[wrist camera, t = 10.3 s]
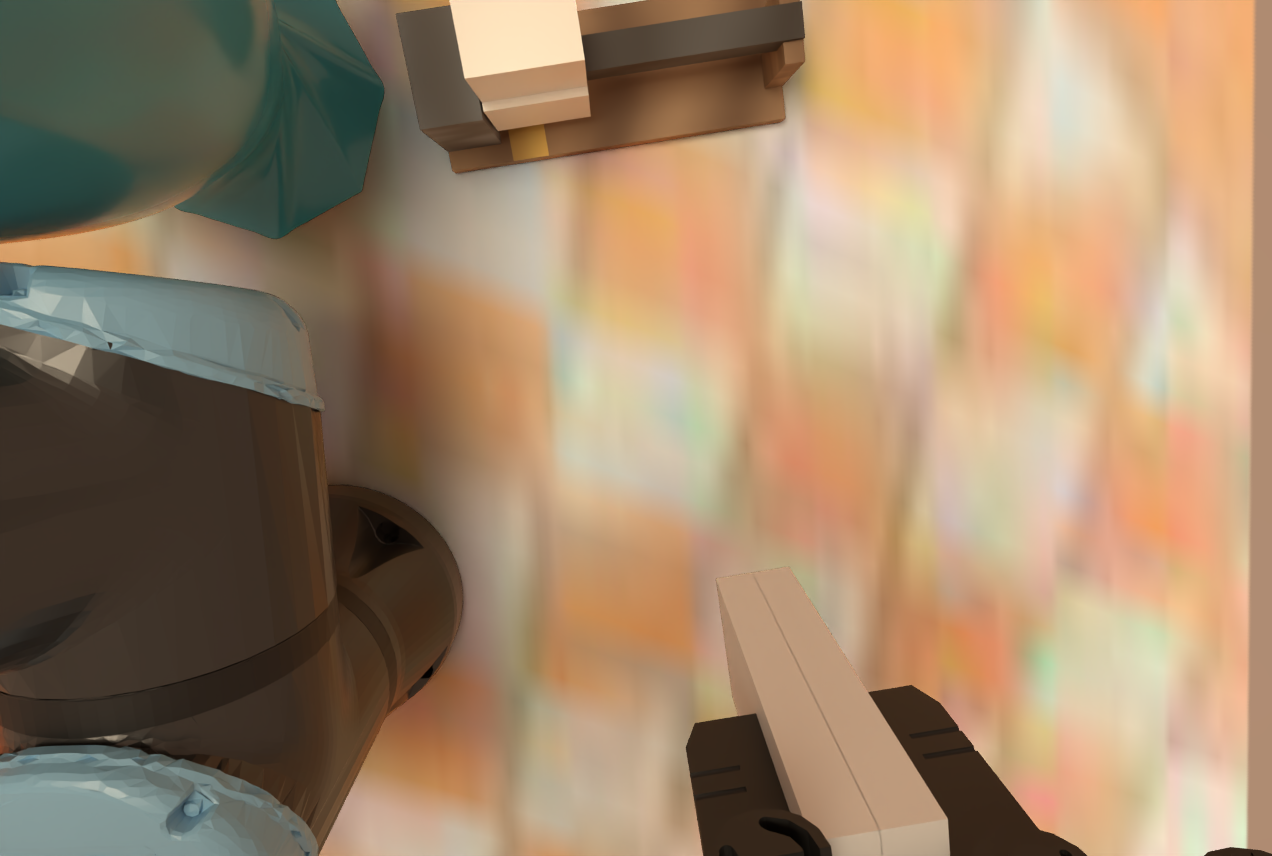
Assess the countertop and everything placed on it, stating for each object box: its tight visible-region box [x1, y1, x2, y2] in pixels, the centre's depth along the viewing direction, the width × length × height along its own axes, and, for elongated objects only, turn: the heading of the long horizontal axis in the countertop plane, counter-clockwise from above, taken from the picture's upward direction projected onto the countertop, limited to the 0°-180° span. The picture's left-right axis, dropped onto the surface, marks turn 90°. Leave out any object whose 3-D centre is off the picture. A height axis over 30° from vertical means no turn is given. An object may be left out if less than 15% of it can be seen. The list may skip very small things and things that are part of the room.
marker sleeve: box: [449, 0, 591, 131], centre depth 32 cm, size 5×4×8 cm
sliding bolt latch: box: [396, 0, 805, 173], centre depth 35 cm, size 19×7×7 cm, turn 99°
